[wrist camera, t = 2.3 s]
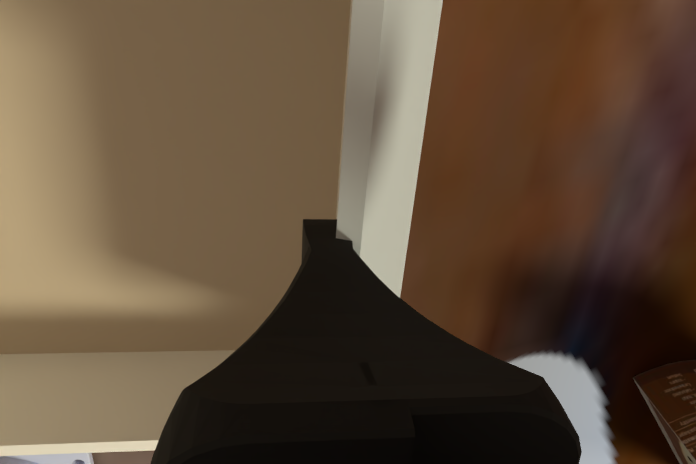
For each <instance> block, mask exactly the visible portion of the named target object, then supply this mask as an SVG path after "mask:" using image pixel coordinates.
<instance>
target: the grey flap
mask: <svg viewBox="0 0 696 464" xmlns="http://www.w3.org/2000/svg"><path fill="white" fill-rule="evenodd" d="M442 2H443V0H353V2H352V16H351V30H350V44H349V59H348V73H347V87H346V101H345V115H344V130H343V144H342V158H341V172H340V186H339V201H338V215H337V229H336V238H338V239H344V240H350V241H352V243H353V249H354V250H355V252H356V253H357V254H358V255H359V256H360V258H361V259H362V260H363V261H364V262H365V263H366V265H367V266H368V267H369V268H370V269H371V270H372V271H373V273H374V274H375V275H376V276H377V277H378V278H379V279H380V280H381V281H382V282H383V283H384V284H385V285H386V286H387V287H388V288H389V289H390V290H391V291H392V292H394V293H395V294H396V295H397V296H398V297H399V298H400V294H401V287H402V280H403V273H404V266H405V259H406V252H407V245H408V238H409V232H410V225H411V218H412V211H413V204H414V197H415V190H416V183H417V176H418V169H419V162H420V155H421V148H422V141H423V134H424V127H425V120H426V113H427V106H428V99H429V92H430V85H431V78H432V72H433V65H434V58H435V51H436V44H437V37H438V30H439V23H440V16H441V9H442Z"/></svg>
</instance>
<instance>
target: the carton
mask: <svg viewBox="0 0 696 464" xmlns="http://www.w3.org/2000/svg"><path fill="white" fill-rule="evenodd" d="M352 2H353V0H0V456H18V455H44V454H70V453H96V452H122V451H148V450H155V449H156V446H157V443H158V441H159V438H160V436H161V433H162V430H163V428H164V426H165V424H166V422H167V419H168V417H169V415H170V413H171V411H172V409H173V407H174V405H175V403H176V401H177V399H178V397H179V396H180V394H181V392H182V390H183V389H185V388H186V387H187V386H189V385H191V384H192V383H194V382H195V381H197V380H198V379H200V378H201V377H203V376H204V375H206V374H207V373H208V372H210V371H211V370H213V369H214V368H216V367H217V366H218V365H219V364H221V363H222V362H223V361H224V360H225V359H227V358H228V357H229V356H230V355H231V354H232V353H233V352H234V351H235V350H237V349H238V348H239V347H240V346H241V345H242V344H243V343H244V342H245V341H246V340H247V339H248V338H249V337H250V336H251V335H252V334H253V333H254V332H255V331H256V330H257V329H258V328H259V327H260V325H261V324H262V323H263V322H264V321H265V320H266V318H267V317H268V316H269V315H270V314H271V312H272V311H273V310H274V308H275V307H276V306H277V304H278V303H279V302H280V300H281V299H282V297H283V296H284V294H285V293H286V291H287V290H288V288H289V286H290V284H291V283H292V281H293V279H294V277H295V275H296V274H297V272H298V270H299V268H300V266H301V262H302V230H303V219H337V215H338V201H339V186H340V172H341V158H342V144H343V130H344V115H345V101H346V87H347V73H348V59H349V44H350V30H351V16H352Z"/></svg>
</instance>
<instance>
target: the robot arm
mask: <svg viewBox="0 0 696 464" xmlns="http://www.w3.org/2000/svg"><path fill="white" fill-rule="evenodd" d="M336 229H337V219H303V230H302V262H301V266H300V268H299V270H298V272H297V274H296V275H295V277H294V279H293V281H292V283H291V284H290V286H289V288H288V290H287V291H286V293H285V294H284V296H283V297H282V299H281V300H280V302H279V303H278V304H277V306H276V307H275V308H274V310H273V311H272V312H271V314H270V315H269V316H268V317H267V318H266V320H265V321H264V322H263V323H262V324H261V325H260V327H259V328H258V329H257V330H256V331H255V332H254V333H253V334H252V335H251V336H250V337H249V338H248V339H247V340H246V341H245V342H244V343H243V344H242V345H241V346H240V347H239V348H238V349H237V350H235V351H234V352H233V353H232V354H231V355H230V356H229V357H228V358H227V359H225V360H224V361H223V362H222V363H221V364H219V365H218V366H217V367H216V368H214V369H213V370H211V371H210V372H208V373H207V374H206V375H204V376H203V377H201V378H200V379H198V380H197V381H195V382H194V383H192V384H191V385H189V386H187V387H186V388H185V389H183V390H182V392H181V394H180V396H179V397H178V399H177V401H176V403H175V405H174V407H173V409H172V411H171V413H170V415H169V417H168V419H167V422H166V424H165V426H164V428H163V430H162V433H161V436H160V438H159V441H158V443H157V446H156V449H155V452H154V454H153V457H152V461H151V464H579V460H580V456H581V447H580V442H579V436H578V434H577V433H576V431H575V429H574V427H573V425H572V423H571V422H570V420H569V418H568V416H567V414H566V412H565V411H564V409H563V407H562V405H561V404H560V402H559V400H558V399H557V397H556V396H555V394H554V393H553V392H552V390H551V389H550V387H549V386H548V384H547V383H546V381H545V380H544V378H543V377H541V376H539V375H536V374H534V373H531V372H529V371H526V370H524V369H521V368H519V367H517V366H514V365H512V364H509V363H507V362H504V361H502V360H500V359H497V358H495V357H493V356H491V355H489V354H487V353H485V352H483V351H481V350H479V349H477V348H475V347H473V346H471V345H469V344H467V343H466V342H464V341H462V340H460V339H458V338H457V337H455V336H453V335H451V334H450V333H448V332H447V331H445V330H444V329H442V328H440V327H439V326H437V325H436V324H434V323H433V322H431V321H430V320H428V319H427V318H425V317H424V316H422V315H421V314H420V313H418V312H417V311H416V310H414V309H413V308H412V307H411V306H409V305H408V304H407V303H406V302H404V301H403V300H402V299H401V298H399V297H398V296H397V295H396V294H395V293H394V292H392V291H391V290H390V289H389V288H388V287H387V286H386V285H385V284H384V283H383V282H382V281H381V280H380V279H379V278H378V277H377V276H376V275H375V274H374V273H373V271H372V270H371V269H370V268H369V267H368V266H367V265H366V263H365V262H364V261H363V260H362V259H361V258H360V256H359V255H358V254H357V253H356V252H355V250H354V249H353V243H352V241H350V240H344V239H338V238H336ZM0 464H94V462H93V457H92V453H70V454H44V455H18V456H0Z"/></svg>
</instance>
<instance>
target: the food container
mask: <svg viewBox="0 0 696 464" xmlns="http://www.w3.org/2000/svg"><path fill="white" fill-rule="evenodd" d="M633 379H634V381H635V383H636V385H637V386H638V388H639V390H640V392H641V394H642V396H643V397H644V399H645V401H646V403H647V405H648V407H649V408H650V410H651V412H652V414H653V416H654V418H655V419H656V421H657V423H658V425H659V427H660V428H661V430H662V432H663V434H664V436H665V438H666V439H667V441H668V443H669V445H670V447H671V449H672V450H673V452H674V454H675V456H676V458H677V460H678V461H679V463H680V464H696V360H687V361H679V362H675V363H670V364H666V365H663V366H660V367H657V368H654V369H651V370H648V371H646V372H644V373H641V374H639V375H637V376H635V377H633Z"/></svg>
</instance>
